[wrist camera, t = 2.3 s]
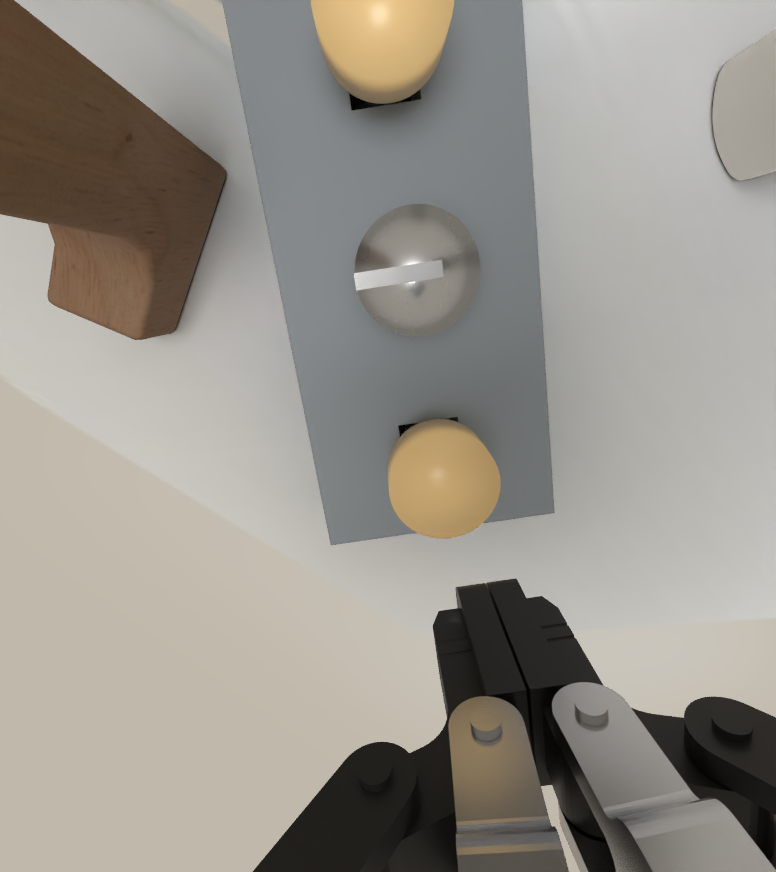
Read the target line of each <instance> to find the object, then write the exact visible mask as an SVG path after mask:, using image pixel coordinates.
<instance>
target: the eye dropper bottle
mask: <svg viewBox="0 0 776 872" xmlns="http://www.w3.org/2000/svg"><path fill="white" fill-rule="evenodd" d="M712 121H713V132H714V138H715V143H716V146H717V150H718V152H719V155H720V157H721V160H722V162H723V164H724V166H725V168H726V169H727V171H728V172H729V174H730V175H731V176H732V177H733V178H735V179H736V180H748V179H752V178H755V177H758V176H762V175H765V174H769V173H772V172H775V171H776V30H775V31H773V32H772V33H770V34H769V35H767V36H766V37H764V38H763V39H761V40H759V41H758V42H756V43H755V44H753V45H752V46H750V47H749V48H747V49H746V50H744V51H743V52H741V53H739V54H738V55H736V56H735V57H733V58H732V59H731V60H729V61H728V62H727V63H725V65H724V66H723V68H722V69H721V71H720V73H719V75H718V79H717V83H716V87H715V93H714V99H713V111H712Z"/></svg>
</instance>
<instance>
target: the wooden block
mask: <svg viewBox="0 0 776 872" xmlns="http://www.w3.org/2000/svg"><path fill="white" fill-rule="evenodd" d="M225 177H226V176H225V169H224V168H223V167H222V166H221V165H220V164H219V163H217V162H216V161H215V160H214V159H212V158H211V157H210V156H208V155H207V154H206V153H205V152H203V151H202V150H201V149H200V148H198V147H197V146H196V145H194V144H193V143H192V142H191V141H189V140H188V139H187V138H186V137H184V136H183V135H182V134H181V133H180V132H178V131H177V130H176V129H175V128H173V127H172V126H171V125H170V124H168V123H167V122H166V121H165V120H163V119H162V118H161V117H160V116H158V115H157V114H156V113H155V112H153V111H152V110H151V109H150V108H148V107H147V106H146V105H145V104H143V103H142V102H141V101H140V100H138V99H137V98H136V97H135V96H133V95H132V94H131V93H130V92H128V91H127V90H126V89H125V88H123V87H122V86H121V85H120V84H118V83H117V82H116V81H115V80H113V79H112V78H111V77H110V76H108V75H107V74H106V73H105V72H103V71H102V70H101V69H100V68H98V67H97V66H96V65H95V64H93V63H92V62H91V61H90V60H88V59H87V58H86V57H85V56H83V55H82V54H81V53H80V52H78V51H77V50H76V49H75V48H73V47H72V46H71V45H70V44H68V43H67V42H66V41H65V40H63V39H62V38H61V37H59V36H58V35H57V34H56V33H54V32H53V31H52V30H51V29H49V28H48V27H47V26H46V25H44V24H43V23H42V22H41V21H39V20H38V19H37V18H36V17H34V16H33V15H32V14H31V13H29V12H28V11H27V10H26V9H24V8H23V7H22V6H21V5H19V4H18V3H17V2H16V1H14V0H0V214H2V215H7V216H12V217H17V218H22V219H27V220H32V221H37V222H42V223H47V224H48V225H49V228H50V231H51V234H52V237H53V240H54V243H55V247H54V254H53V261H52V268H51V275H50V282H49V289H48V300H49V302H51V303H52V304H53V305H55V306H57V307H59V308H61V309H64V310H66V311H68V312H71V313H73V314H75V315H78V316H80V317H82V318H85V319H87V320H90V321H92V322H94V323H97V324H99V325H101V326H104V327H106V328H108V329H111V330H113V331H116V332H118V333H120V334H123V335H125V336H127V337H130V338H132V339H134V340H142V339H147V338H151V337H156V336H161V335H165V334H170V333H172V332H173V331H174V330H175V328H176V325H177V322H178V319H179V316H180V313H181V310H182V307H183V304H184V301H185V298H186V295H187V292H188V289H189V286H190V283H191V280H192V277H193V274H194V271H195V268H196V265H197V262H198V259H199V256H200V253H201V250H202V247H203V244H204V241H205V238H206V235H207V232H208V228H209V225H210V222H211V219H212V216H213V213H214V210H215V207H216V204H217V201H218V198H219V195H220V192H221V189H222V186H223V183H224V180H225Z"/></svg>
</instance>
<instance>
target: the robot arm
mask: <svg viewBox="0 0 776 872" xmlns="http://www.w3.org/2000/svg"><path fill="white" fill-rule="evenodd" d="M456 598H457V606H458V608H457V609H451V610H444V611H439V612H438V614H437V617H436V619H435V622H434V624H433V631H434V638H435V645H436V652H437V660H438V667H439V674H440V680H441V686H442V692H443V696H444V703H445V708H446V714H447V721H446V724H445V726H444V728H443V730H442V731H441V733H440V734H439V735H438V736H437V737H436V738H435V739H434V740H433V741H432V742H430V743H429V744H428V745H426V746H424V747H422V748H420V749H418V750H416V751H413V752H412V753H408V752H407V751H406V750H405V749H404V748H402V747H400V746H398V745H396V744H393V743H388V742H376V743H371V744H368V745H365V746H363V747H361V748H359V749H357V750H356V751H354V752H353V753H352V754H351V755H350V756H349V757H348V758H347V759H346V760H345V761H344V762H343V764H342V765H341V766H340V767H339V768H338V770H337V771H336V772H335V773H334V774H333V776H332V777H331V778H330V779H329V780H328V782H327V783H326V784H325V785H324V787H323V788H322V789H321V790H320V791H319V793H318V794H317V795H316V796H315V797H314V799H313V800H312V801H311V802H310V803H309V805H308V806H307V807H306V808H305V809H304V811H303V812H302V813H301V814H300V815H299V817H298V818H297V819H296V820H295V821H294V823H293V824H292V825H291V826H290V827H289V829H288V830H287V831H286V832H285V833H284V835H283V836H282V837H281V838H280V839H279V841H278V842H277V843H276V844H275V846H274V847H273V848H272V849H271V850H270V852H269V853H268V854H267V855H266V856H265V858H264V859H263V860H262V861H261V862H260V864H259V865H258V866H257V867H256V869H255V870H254V871H253V872H569V871H568V867H567V863H566V859H565V856H564V852H563V848H562V845H561V841H560V838H559V835H558V832H557V830H556V828H555V827H552V826H551V823H550V820H549V817H548V813H547V809H546V805H545V801H544V798H543V793H542V789H541V786H545V785H553V788H554V791H555V793H556V796H557V799H558V805H559V819H560V824H561V827H562V830H563V833H564V835H565V837H566V840H567V842H568V844H569V846H570V849H571V851H572V854H573V856H574V858H575V860H576V863H577V865H578V867H579V870H580V872H776V718H775V717H773V716H771V715H769V714H766V713H764V712H762V711H760V710H758V709H755V708H753V707H751V706H749V705H746V704H744V703H741V702H739V701H736V700H732V699H728V698H723V697H704V698H700V699H697V700H695V701H693V702H692V703H690V705H688V707H687V708H686V710H685V714H684V718H680V717H672V716H663V715H656V714H650V713H645V712H641V711H638V710H635V709H633V708H631V707H630V706H629V704H628V703H627V702H626V701H625V699H624V698H623V697H621V696H620V695H619V694H618V693H616V692H615V691H613V690H612V689H609V688H608V687H605V686H603V684H602V683H601V681H600V679H599V677H598V676H597V674H596V672H595V670H594V669H593V667H592V665H591V664H590V662H589V660H588V658H587V657H586V655H585V653H584V652H583V650H582V648H581V647H580V645H579V643H578V641H577V640H576V639H575V638H574V634H573V633H572V631H571V629H570V628H569V626H567V622H566V621H565V619H564V617H563V616H562V614H561V612H560V610H559V609H558V608H557V607H556V606H555V605H553V604H552V603H551V602H549V601H548V600H546V599H545V598H544V597H542V596H540V597H533V598H526V597H525V595H524V593H523V591H522V589H521V587H520V585H519V583H518V581H517V579H509V580H503V581H496V582H489V583H486V584H485V583H483V584H476V585H469V586H462V587H456Z"/></svg>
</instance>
